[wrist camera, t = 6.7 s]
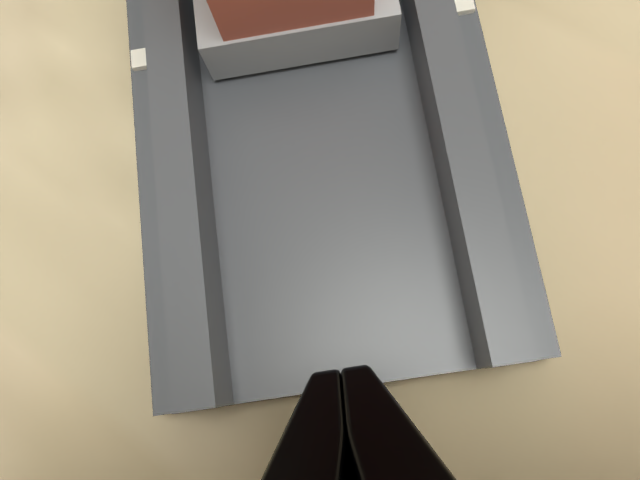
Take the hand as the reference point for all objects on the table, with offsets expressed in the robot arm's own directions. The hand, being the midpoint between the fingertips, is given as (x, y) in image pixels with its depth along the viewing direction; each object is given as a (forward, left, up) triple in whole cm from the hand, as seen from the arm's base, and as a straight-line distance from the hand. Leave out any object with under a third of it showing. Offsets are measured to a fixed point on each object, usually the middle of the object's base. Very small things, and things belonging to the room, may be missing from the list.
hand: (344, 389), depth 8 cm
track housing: (+5, +6, -7) cm, 11 cm away
